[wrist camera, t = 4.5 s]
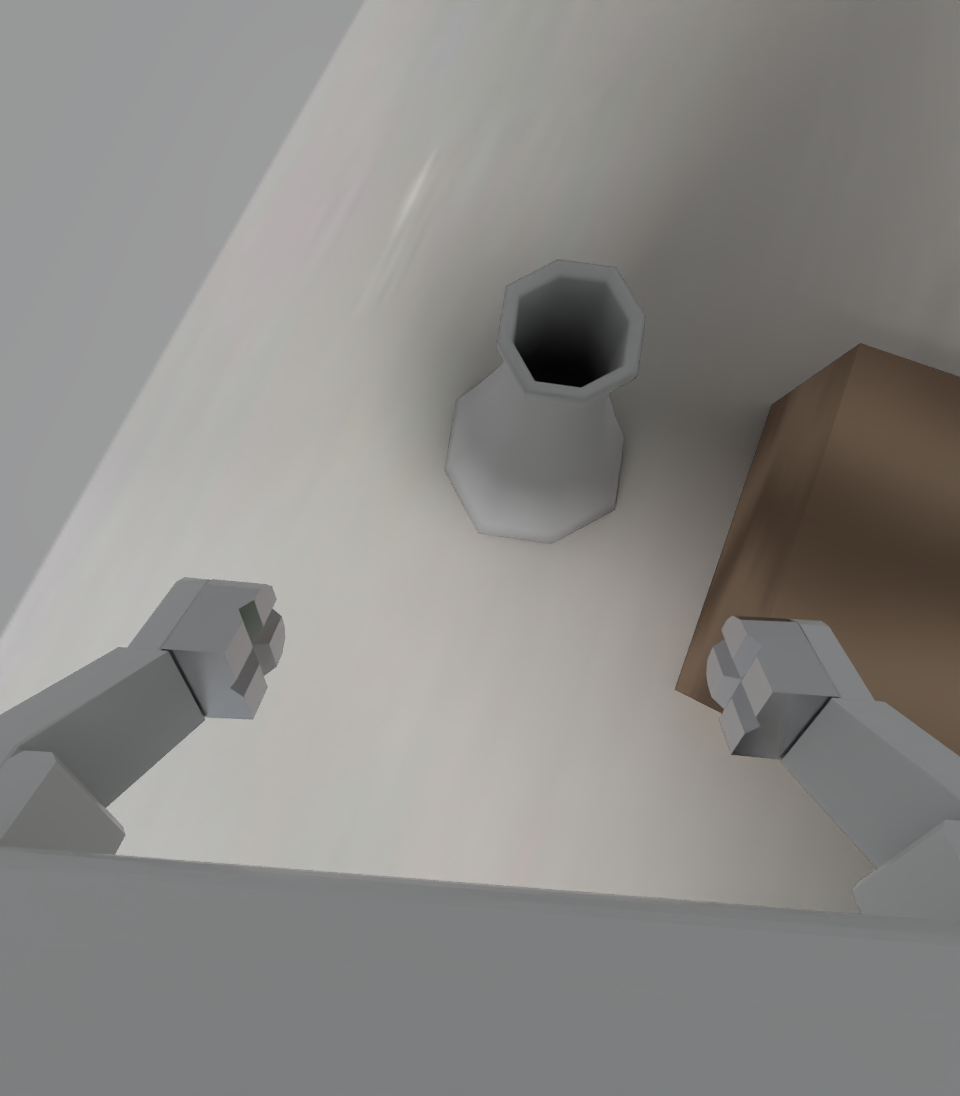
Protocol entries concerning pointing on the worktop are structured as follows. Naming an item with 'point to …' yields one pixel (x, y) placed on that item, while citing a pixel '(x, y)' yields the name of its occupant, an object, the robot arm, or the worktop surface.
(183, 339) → the worktop surface
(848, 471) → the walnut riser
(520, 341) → the flask
